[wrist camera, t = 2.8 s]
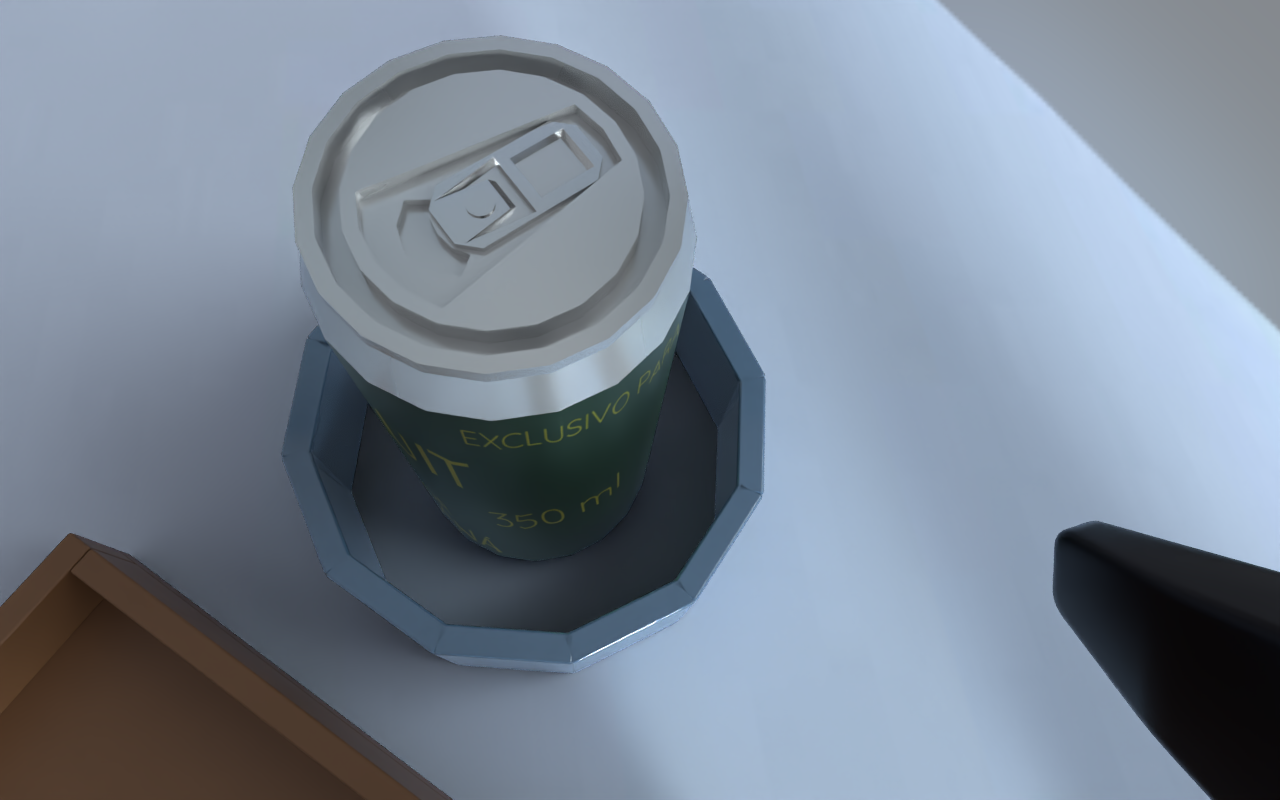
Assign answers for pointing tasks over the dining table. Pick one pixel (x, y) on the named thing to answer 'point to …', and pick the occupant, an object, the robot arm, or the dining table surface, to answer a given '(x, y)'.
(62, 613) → the tray
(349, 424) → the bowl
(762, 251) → the dining table surface
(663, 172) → the beer can
